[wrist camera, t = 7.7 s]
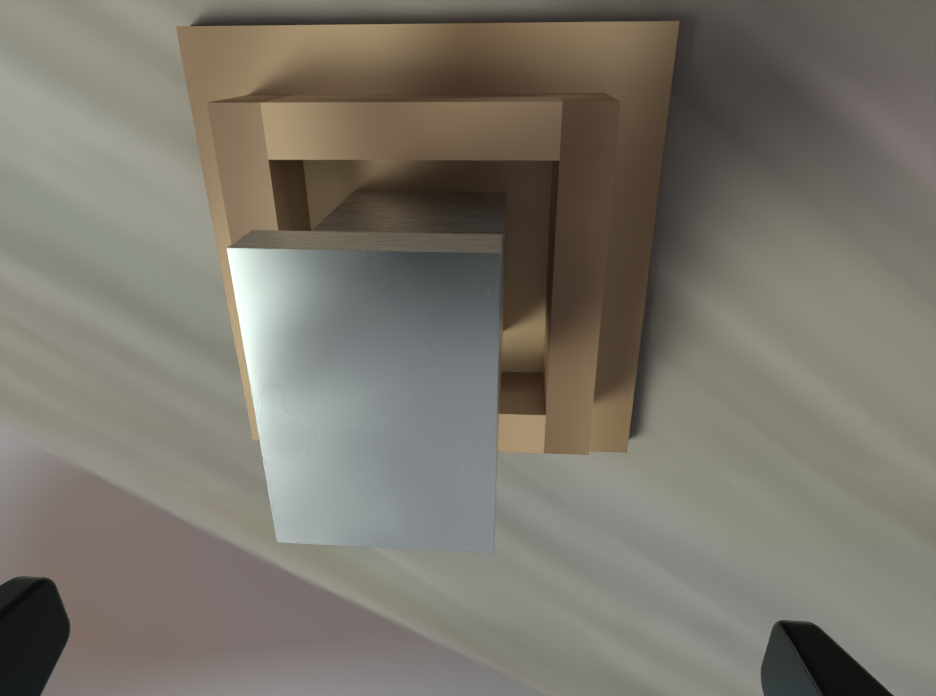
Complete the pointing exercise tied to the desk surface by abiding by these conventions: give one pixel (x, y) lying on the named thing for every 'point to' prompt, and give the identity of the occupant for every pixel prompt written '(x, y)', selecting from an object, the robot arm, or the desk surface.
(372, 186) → the frame
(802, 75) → the desk surface
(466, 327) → the stepped grey box
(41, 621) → the robot arm
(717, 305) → the desk surface
